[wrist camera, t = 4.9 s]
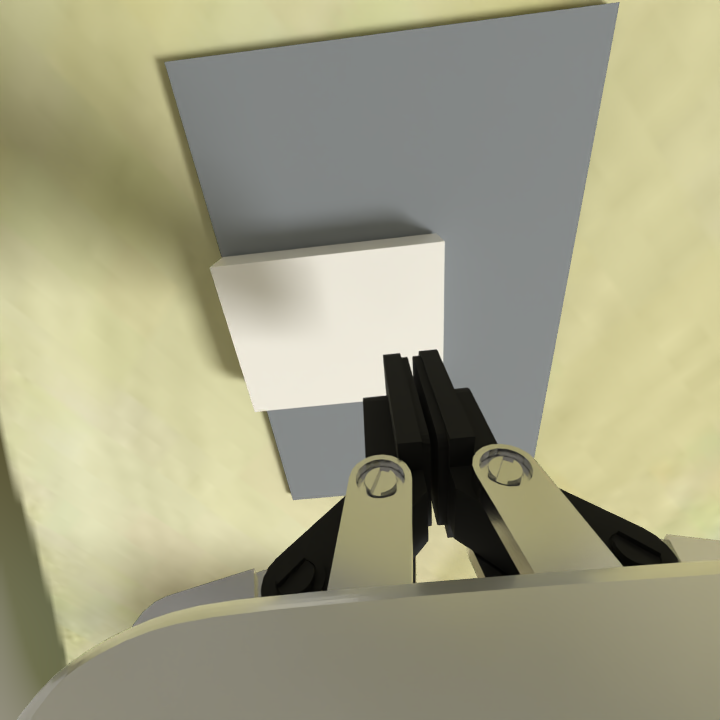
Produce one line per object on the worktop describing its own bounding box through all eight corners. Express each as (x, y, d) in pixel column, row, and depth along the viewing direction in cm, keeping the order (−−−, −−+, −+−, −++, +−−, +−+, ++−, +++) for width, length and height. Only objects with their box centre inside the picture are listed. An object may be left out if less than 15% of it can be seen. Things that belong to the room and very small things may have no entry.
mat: (169, 64, 12) (164, 62, 12) (611, 6, 12) (619, 2, 12) (293, 494, 23) (293, 499, 23) (527, 474, 23) (530, 479, 22)
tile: (435, 232, 15) (223, 256, 15) (444, 241, 13) (209, 267, 14) (435, 374, 18) (262, 391, 19) (442, 393, 17) (254, 411, 17)
